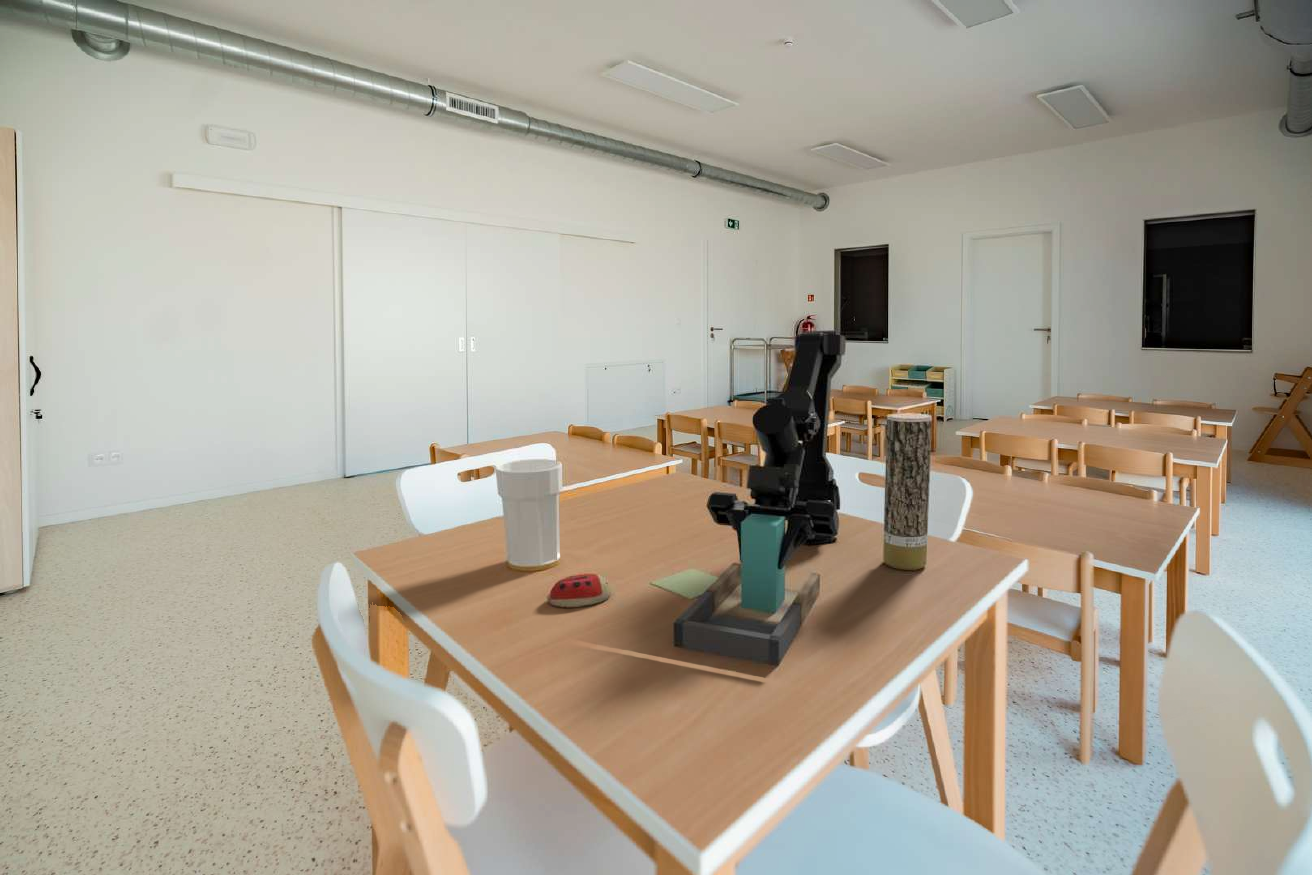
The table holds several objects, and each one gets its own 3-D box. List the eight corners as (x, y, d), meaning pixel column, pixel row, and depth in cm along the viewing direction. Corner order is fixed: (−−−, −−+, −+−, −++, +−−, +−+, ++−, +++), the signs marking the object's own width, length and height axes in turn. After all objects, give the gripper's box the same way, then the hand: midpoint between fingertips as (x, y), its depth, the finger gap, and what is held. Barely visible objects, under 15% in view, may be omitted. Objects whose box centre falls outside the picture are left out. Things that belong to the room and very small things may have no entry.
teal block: (751, 594, 101) (751, 513, 99) (784, 599, 99) (785, 516, 97) (741, 607, 97) (741, 522, 95) (775, 612, 95) (776, 526, 93)
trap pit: (705, 614, 95) (705, 591, 95) (800, 630, 90) (800, 605, 89) (674, 648, 86) (673, 622, 85) (778, 668, 80) (778, 640, 79)
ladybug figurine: (618, 601, 101) (618, 579, 101) (555, 615, 97) (554, 592, 97) (602, 587, 107) (601, 565, 107) (541, 599, 103) (540, 577, 102)
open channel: (733, 584, 107) (733, 562, 106) (819, 596, 101) (819, 573, 100) (706, 613, 96) (706, 590, 95) (800, 629, 90) (801, 604, 90)
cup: (580, 560, 119) (575, 463, 117) (527, 578, 111) (521, 475, 108) (540, 547, 127) (535, 456, 124) (488, 564, 119) (481, 466, 116)
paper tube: (927, 560, 115) (933, 413, 111) (924, 574, 109) (930, 419, 105) (885, 555, 118) (889, 412, 114) (880, 568, 112) (884, 418, 108)
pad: (691, 571, 113) (691, 568, 113) (731, 585, 106) (731, 582, 106) (650, 585, 107) (650, 582, 107) (691, 601, 100) (691, 598, 100)
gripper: (709, 439, 102) (682, 531, 94) (836, 445, 94) (819, 546, 86) (727, 479, 110) (704, 567, 102) (845, 488, 102) (830, 583, 94)
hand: (760, 565), depth 96 cm, fingers closed on teal block, 5 cm apart
